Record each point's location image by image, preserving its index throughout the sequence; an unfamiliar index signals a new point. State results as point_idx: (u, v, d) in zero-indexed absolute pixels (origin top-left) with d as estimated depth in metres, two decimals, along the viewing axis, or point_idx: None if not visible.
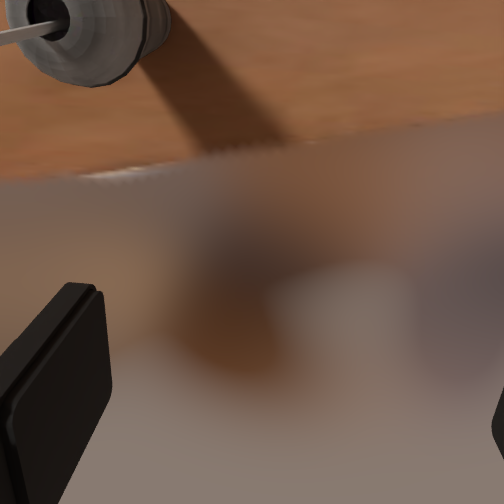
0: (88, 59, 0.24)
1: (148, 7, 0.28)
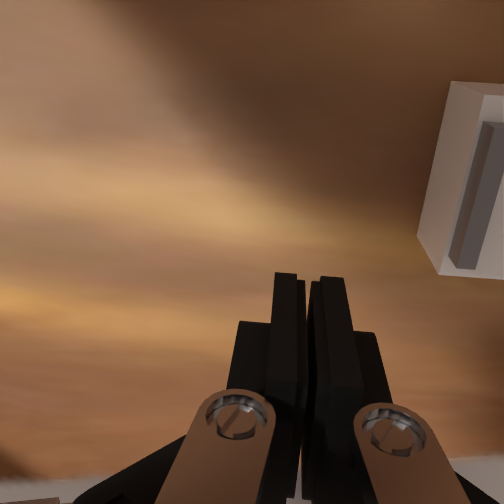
0: None
1: None
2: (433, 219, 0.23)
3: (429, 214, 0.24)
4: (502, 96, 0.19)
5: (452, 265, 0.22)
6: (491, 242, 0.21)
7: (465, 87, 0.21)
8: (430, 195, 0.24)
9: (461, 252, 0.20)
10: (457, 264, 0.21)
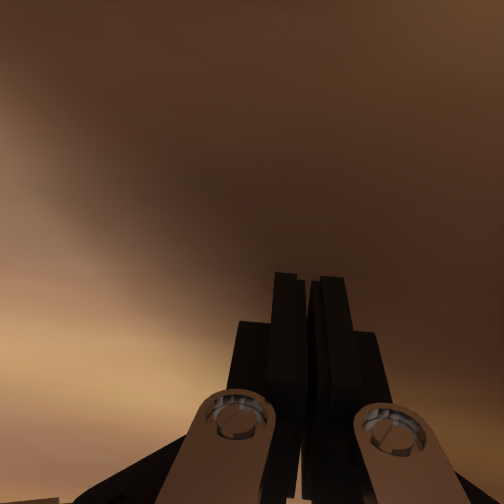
0: None
1: None
2: None
3: None
4: None
5: None
6: None
7: None
8: None
9: None
10: None
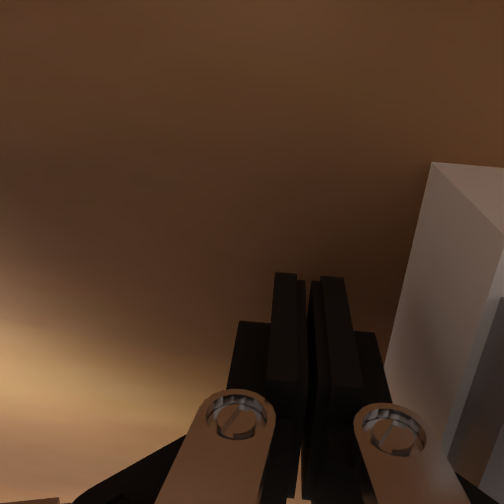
0: None
1: None
2: None
3: None
4: None
5: None
6: None
7: (460, 191, 0.09)
8: (392, 370, 0.13)
9: None
10: None
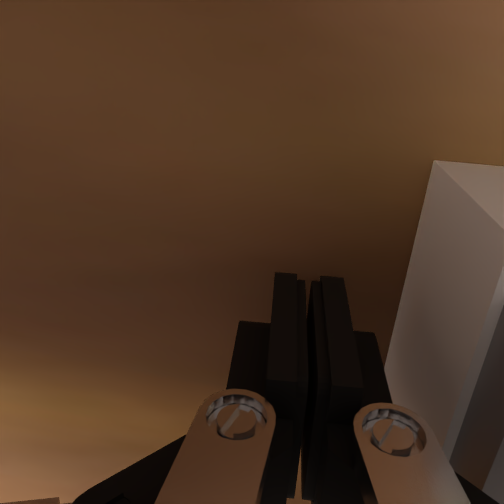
0: None
1: None
2: None
3: None
4: None
5: None
6: None
7: (464, 191, 0.09)
8: (394, 371, 0.13)
9: None
10: None
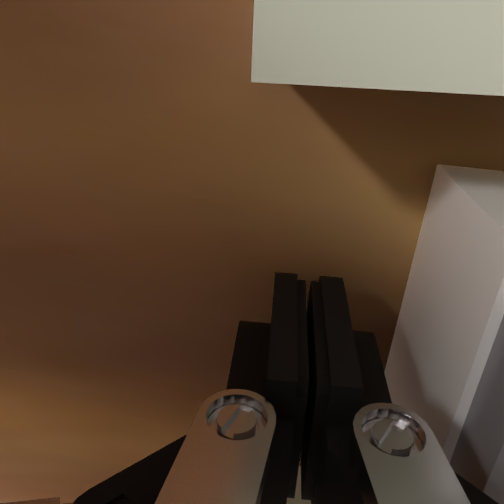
0: None
1: None
2: None
3: None
4: None
5: None
6: None
7: (467, 195, 0.09)
8: (394, 375, 0.13)
9: None
10: None
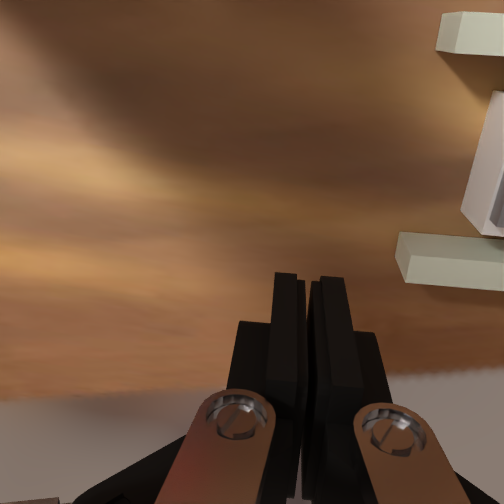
0: None
1: None
2: (477, 194, 0.31)
3: (472, 191, 0.32)
4: None
5: (492, 227, 0.29)
6: None
7: None
8: (473, 177, 0.32)
9: (500, 214, 0.28)
10: (497, 223, 0.28)
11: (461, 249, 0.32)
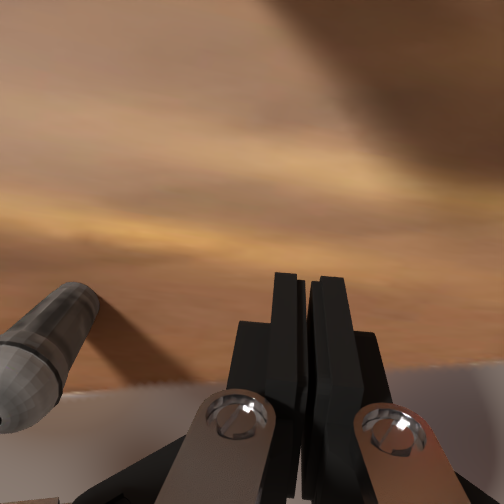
0: (17, 429, 0.35)
1: (68, 352, 0.39)
2: None
3: None
4: None
5: None
6: None
7: None
8: None
9: None
10: None
11: None
